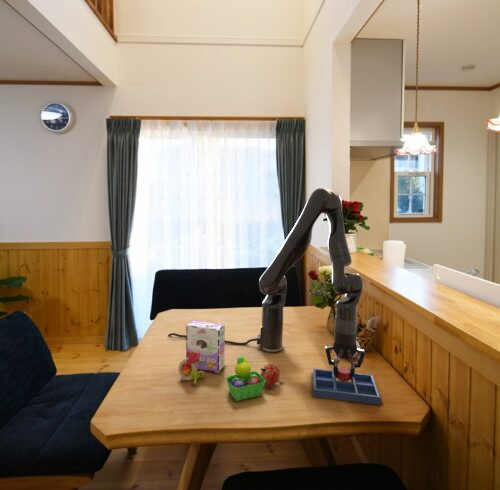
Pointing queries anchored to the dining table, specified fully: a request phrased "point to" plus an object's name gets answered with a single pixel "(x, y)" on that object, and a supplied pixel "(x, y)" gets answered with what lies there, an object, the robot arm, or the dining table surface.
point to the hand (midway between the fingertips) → (343, 376)
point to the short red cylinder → (343, 374)
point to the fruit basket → (245, 381)
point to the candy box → (206, 344)
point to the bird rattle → (190, 367)
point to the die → (357, 347)
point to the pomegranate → (270, 375)
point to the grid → (345, 387)
